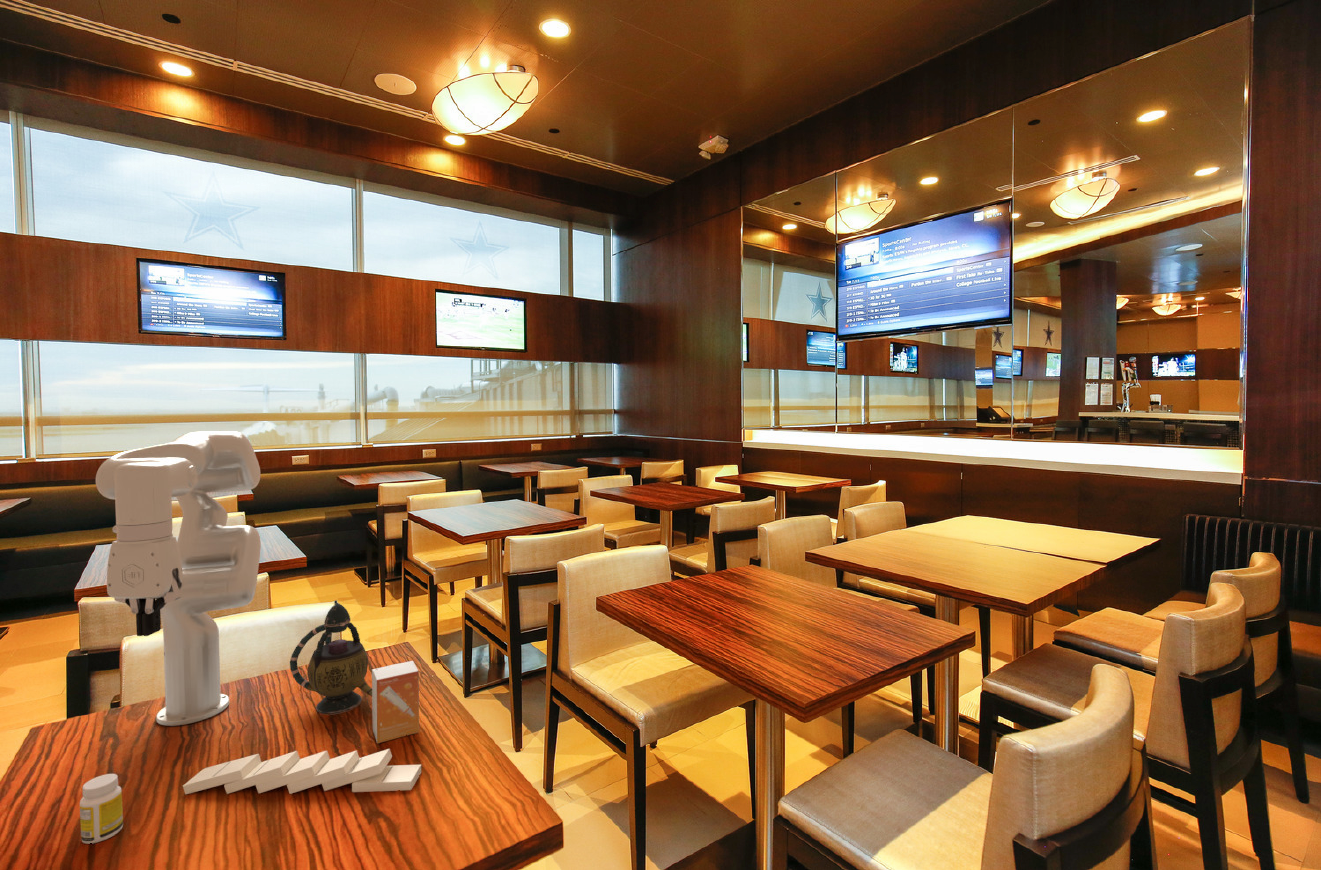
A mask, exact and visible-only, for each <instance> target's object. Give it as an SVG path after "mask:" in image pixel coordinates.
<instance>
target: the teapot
mask: <svg viewBox="0 0 1321 870" xmlns="http://www.w3.org/2000/svg"><path fill="white" fill-rule="evenodd" d="M333 602H334V604H333V606H331V607H330V609H329V610H328V612H327V614H326V616H325V619H324V623H323V624H321V625H318V626H317V627H315V628H313V629H311V631H309V632H308V633H307V634H306V635H304V636H303V637H302V638H301V639H300V641H299V642H298V643H297V645H296V647H295V648H294V650H293V652H292V654H291V656H290V661H289V668H290V671H291V675H292V677H293V679H294V681H296V683H297V684H299V685H300V686H302V687H303V688H305V689H306V690H307V691H311V692H316V693H317V694H319V695H320V696H322V697H323V698H322V699H321V700H320V701H318V703H317V704H316V707H315V711H316V710H317V711H316V713H318V712H319V713H318V714H320V713H321V714H320V715H325V714H327V715H326V716H329V715H328V714H330V716H331V715H337V714H343V713H345V712H346V713H347V712H349V711H351V710H353V709H355V708H356V707H358V706H359V705H360V704H361V703H362V700H363V699H362V696H361V694H359V693H357V692H355V690H356V689H357V688H359V689H360V690H361V691H363V692H364V693H365V694H366V695H369V696H370V697H371V698H372V686H370V685H369V684H368V683H367V682H366V679H365V677H366V675H367V673H368V667H369V666H368V665H369V658H368V657H369V656H368V654H367V651H366V649H365V646H364V645H363V643H362V642H361V638H360V634H359V631H358V629H357V627H356V626H355V625H354V624H353V623H352V622H351V615H350V613H349V611H348V610H347V608H346V607H344V605H343V604H341V603H339V602H338V600H333ZM347 629H349V630H350V633H351V637H352V640H347V639H336V640H332V639H333V638H332V636H333V634H335V633H336V634H337V633H338V634H339V633H342V632H345V631H346V630H347ZM321 632H323V633H322V635H321V637H320V639H319V641H318V642H317V646H316V649H315V650H314V651H313V653H312V655H311V657H310V660H309V663H308V666H307V675H306V676H307V679H305V678H304V677H303V676H302V674H301V673H300V670H299V667H298V659H299V656H300V654H301V652H302V651H303V649H304V647H305V645H306V644H307V643H308V642H310V640H311V639H312V638H313V637H314V636H316V635H317V634H319V633H321Z"/></svg>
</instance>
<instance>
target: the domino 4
mask: <svg viewBox="0 0 1321 870" xmlns="http://www.w3.org/2000/svg"><path fill="white" fill-rule="evenodd" d="M360 758H361V757H360V756H359V754H358V750H354V751H351V752H347V753H344V754H342V755H339V756H336V757H332V758H330V759H329V760H328V761H327V762H326V764H325V765H324V766H323V767H322V768H321V769H320V770H319V771H318V772H317V774H316V775H315V776H311V777H308V778H305V779H302V780H299V781H296V782H293V783H290V784H287V785H286V787H287V789H288V793H289V794H290V795H292V794H293V793H297V792H301V791H304V790H306V789H309V788H312V787H313V788H314V787H315V786H319V785H322V783H325V782H328V781H331V780H334V779H337V778H340V777H343V776H346V775H347V774H348V773H349V771H350V770H351V769H352V768H353V766H354V765H355V764H356V763H357V761H358V760H359V759H360Z"/></svg>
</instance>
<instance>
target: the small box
mask: <svg viewBox="0 0 1321 870" xmlns="http://www.w3.org/2000/svg"><path fill="white" fill-rule="evenodd" d="M419 673H420V671H419V669H418V668H417V666H416V664H415V661H414V660H410V661H405V662H400V663H395V664H394V663H393V664H390V665H389V664H388V665H386V666H382V667H377V668H373V669H371V688H372V697H371V700H372V701H371V707H372V708H371V709H372V710H371V711H372V717H371V718H372V732H373V735H374V737H375V740H376V743H377V744H380V743H384V742H388V741H391V740H396V739H399V738H402V737H406V735H407V736H411V735H414V734H418V732H419V733H420V679H419V678H420V677H419V675H420V674H419Z"/></svg>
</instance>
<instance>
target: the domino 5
mask: <svg viewBox="0 0 1321 870" xmlns="http://www.w3.org/2000/svg"><path fill="white" fill-rule="evenodd" d="M392 757H393V755H392V752H391V749H390V748H387V749H384V750H381V751H378V752H373V753H372V754H368V755H365V756H362V757H359V758H360V759H359V760H358V761H357V763H356V764H355V765H354V766H353V768H352V769H351V770H350V771H349V773H348V774H347V775H346V776H343V777H340V778H337V779H334V780H331V781H328V782H325V783H322V784H321V785H322V788H323V791H324V792H326V791H330V790H333V789H335V788H336V789H337V788H339V787H342V786H345V785H349V784H352V783H353V782H355V781H358V780H361V779H364V778H367V777H371V776H374V775H377V774H380V773H382V771H383V770H384V768H385V767H386V766H388V764H389V762H390V761H391V759H392Z"/></svg>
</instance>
